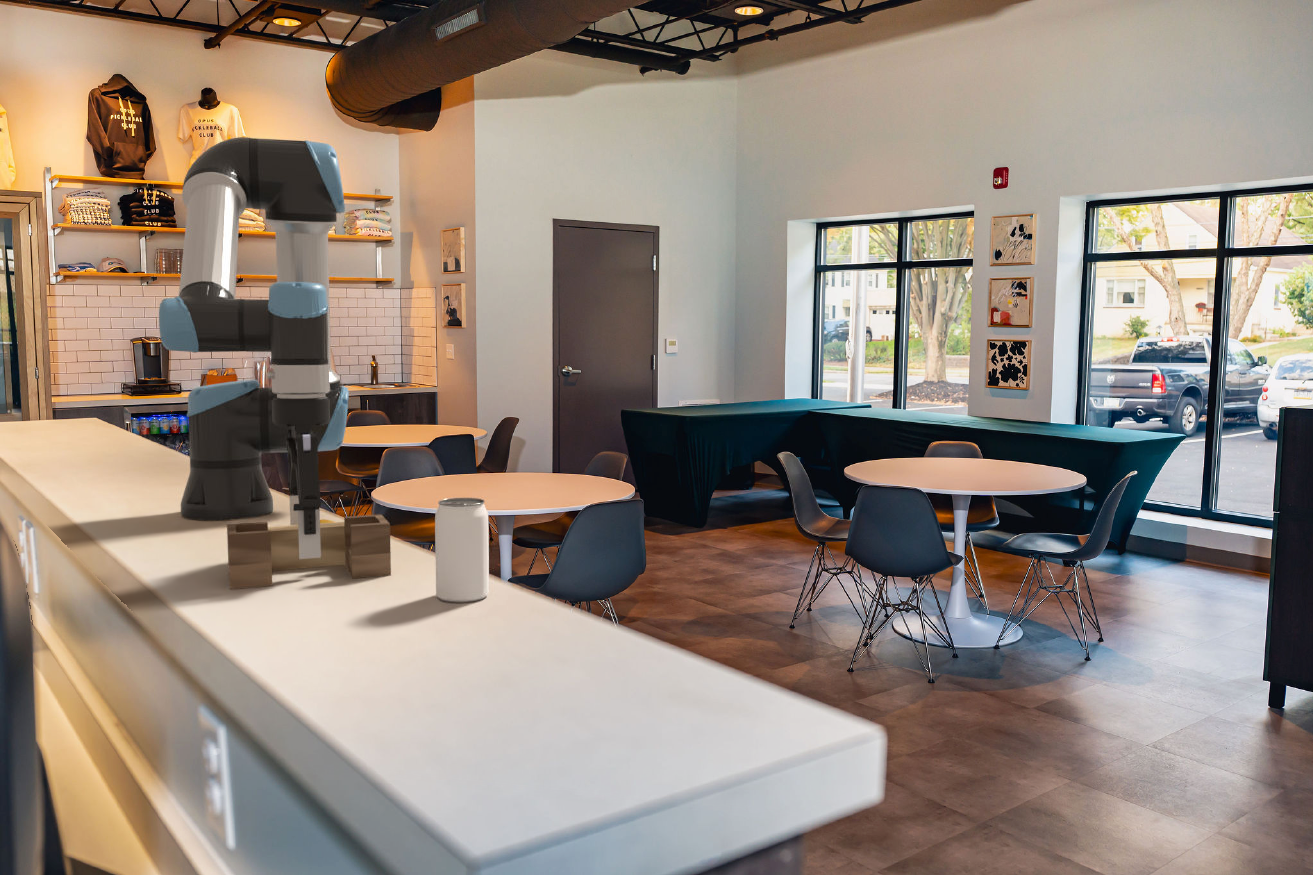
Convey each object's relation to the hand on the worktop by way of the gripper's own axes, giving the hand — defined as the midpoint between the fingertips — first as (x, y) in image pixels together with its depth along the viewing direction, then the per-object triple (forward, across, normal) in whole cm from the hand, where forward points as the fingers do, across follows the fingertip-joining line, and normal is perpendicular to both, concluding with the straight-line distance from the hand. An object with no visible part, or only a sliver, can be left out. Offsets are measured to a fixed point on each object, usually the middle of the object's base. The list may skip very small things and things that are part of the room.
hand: (305, 548), depth 142 cm
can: (+3, +24, +16) cm, 29 cm away
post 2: (+2, +6, +8) cm, 10 cm away
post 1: (+2, +6, -8) cm, 10 cm away
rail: (+2, 0, 0) cm, 2 cm away
